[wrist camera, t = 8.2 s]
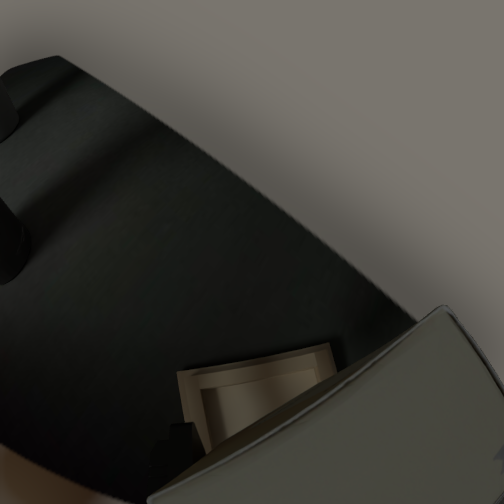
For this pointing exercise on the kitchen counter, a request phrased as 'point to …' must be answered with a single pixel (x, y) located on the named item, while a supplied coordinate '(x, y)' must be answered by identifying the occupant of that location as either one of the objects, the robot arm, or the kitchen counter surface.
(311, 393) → the skincare box
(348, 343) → the kitchen counter surface
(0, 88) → the water bottle
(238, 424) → the tray
